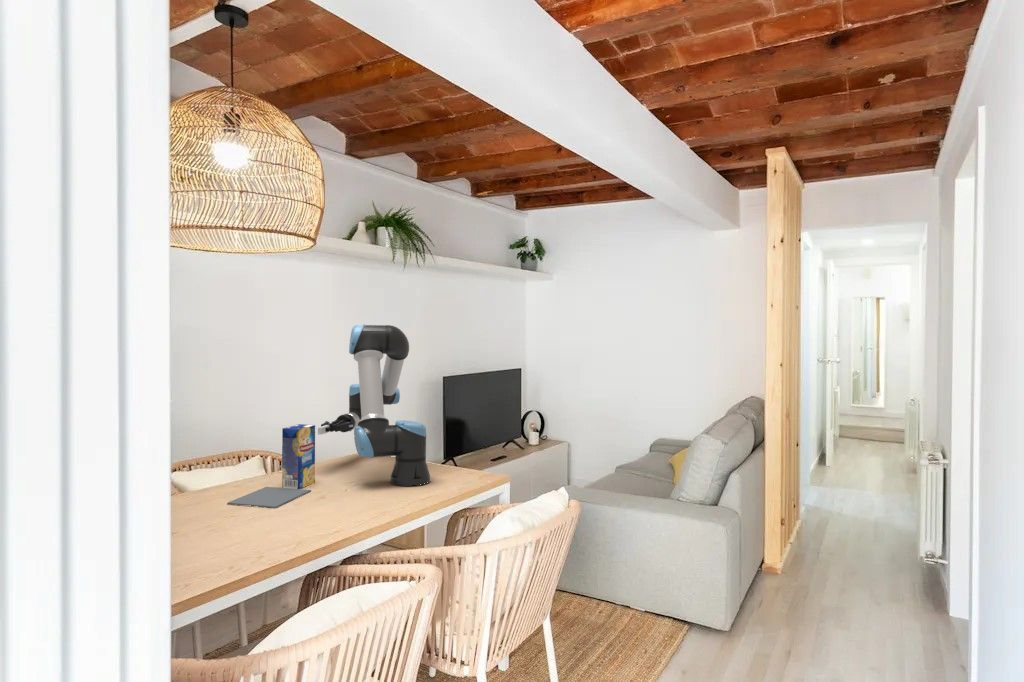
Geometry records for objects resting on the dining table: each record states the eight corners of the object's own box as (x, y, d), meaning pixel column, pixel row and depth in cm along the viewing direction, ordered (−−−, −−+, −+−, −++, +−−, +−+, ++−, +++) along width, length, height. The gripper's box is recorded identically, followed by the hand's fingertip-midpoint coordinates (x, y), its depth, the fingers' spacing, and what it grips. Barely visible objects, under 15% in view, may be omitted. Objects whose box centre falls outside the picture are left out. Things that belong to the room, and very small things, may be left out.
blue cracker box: (315, 482, 245) (315, 425, 244) (298, 489, 234) (298, 429, 233) (299, 481, 246) (299, 424, 246) (282, 488, 236) (282, 428, 235)
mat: (310, 491, 231) (310, 489, 231) (275, 508, 210) (275, 506, 210) (266, 488, 235) (266, 486, 235) (227, 504, 214) (227, 502, 214)
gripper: (361, 431, 276) (334, 441, 253) (333, 430, 279) (304, 439, 256) (361, 414, 276) (334, 422, 253) (333, 413, 279) (304, 420, 256)
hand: (319, 431), depth 254 cm, fingers closed
